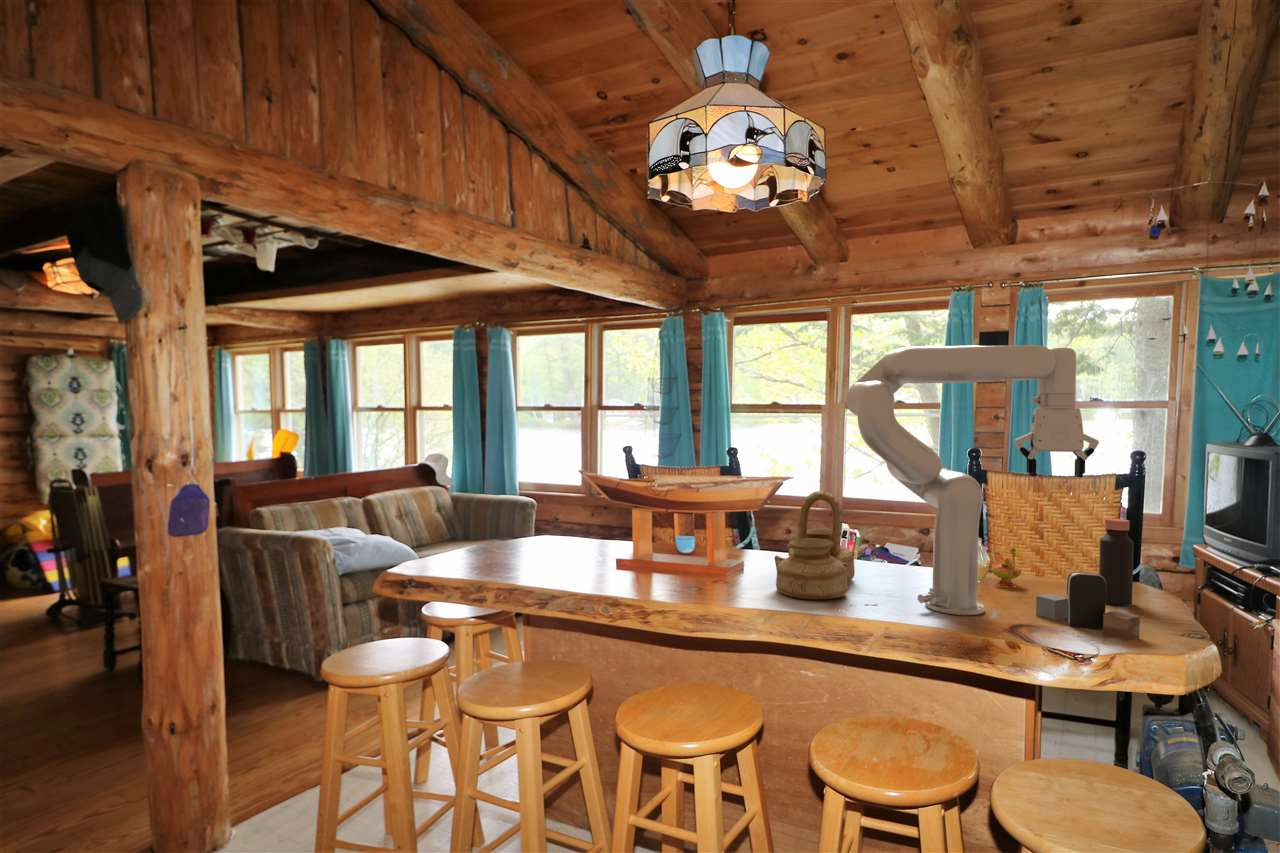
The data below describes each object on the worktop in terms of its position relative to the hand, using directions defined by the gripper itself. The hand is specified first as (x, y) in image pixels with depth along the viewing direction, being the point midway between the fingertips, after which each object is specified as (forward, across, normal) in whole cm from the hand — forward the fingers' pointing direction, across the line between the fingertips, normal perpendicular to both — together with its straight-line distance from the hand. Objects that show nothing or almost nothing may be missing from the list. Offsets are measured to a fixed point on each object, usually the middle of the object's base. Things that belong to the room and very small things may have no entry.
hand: (1055, 476), depth 165 cm
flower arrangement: (+31, -5, +24) cm, 40 cm away
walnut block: (+31, +7, -18) cm, 36 cm away
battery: (+31, +2, -12) cm, 33 cm away
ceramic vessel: (+31, -54, +9) cm, 62 cm away
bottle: (+31, +16, +10) cm, 37 cm away
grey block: (+31, -2, -6) cm, 32 cm away
